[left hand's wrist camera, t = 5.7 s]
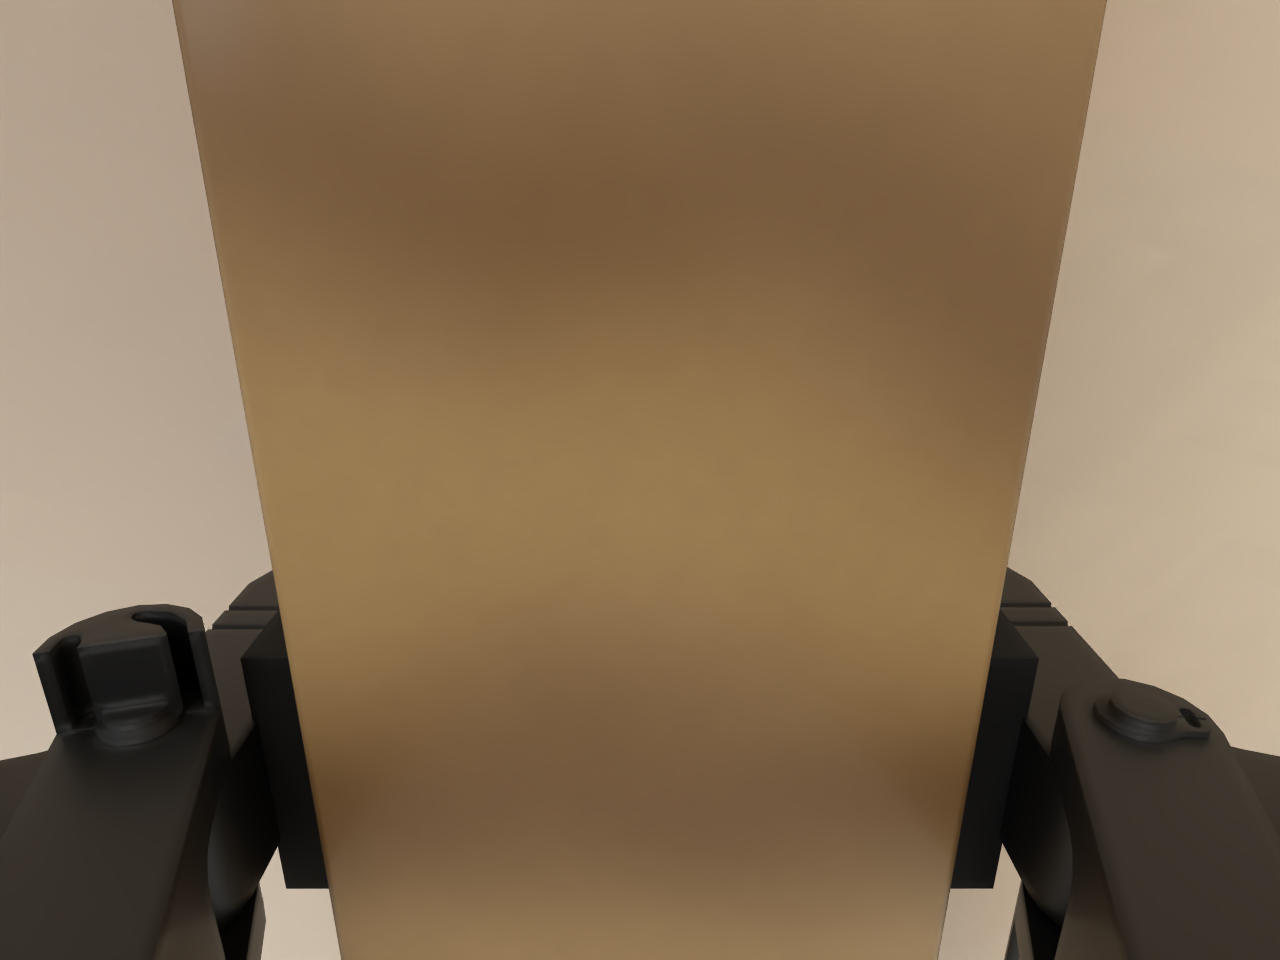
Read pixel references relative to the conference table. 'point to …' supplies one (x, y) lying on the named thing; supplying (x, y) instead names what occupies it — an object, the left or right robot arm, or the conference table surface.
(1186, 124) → the conference table surface
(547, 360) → the beam
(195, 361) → the conference table surface
